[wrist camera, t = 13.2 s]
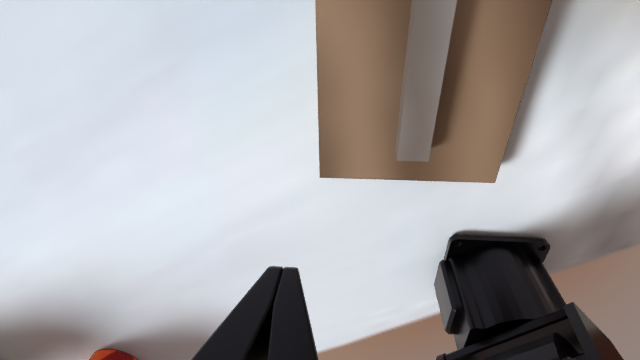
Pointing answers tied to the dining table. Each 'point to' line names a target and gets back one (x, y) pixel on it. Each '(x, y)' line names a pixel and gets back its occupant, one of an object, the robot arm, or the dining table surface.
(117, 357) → the paper cup
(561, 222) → the dining table surface
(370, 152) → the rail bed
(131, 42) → the dining table surface
